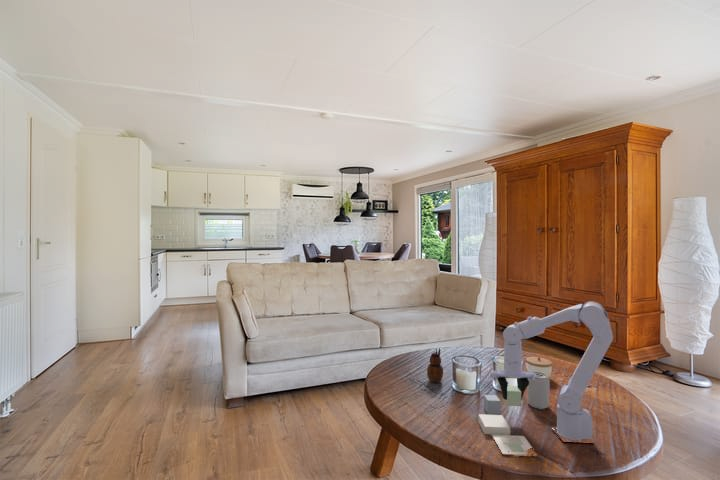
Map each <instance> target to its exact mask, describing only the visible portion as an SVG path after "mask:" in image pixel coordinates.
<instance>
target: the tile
mask: <svg viewBox="0 0 720 480" xmlns="http://www.w3.org/2000/svg"><path fill="white" fill-rule="evenodd" d="M491 437H492V439H493V441H494V440H495V441H494V443H495V442H496V443H495V444H497V445H498V447H499V448H498V447H497V448H498V450H499V449H500V450H501V452H502V454H513V455H526V454H527V452H528V451H527V450H528V449H530V448H533V446H532V445H531V444H530V442H529V441H528V439H527V438H526V437H525V436H524V435H511V434H510V435H491ZM497 445H496V446H497ZM500 450H499V451H500ZM508 451H509V452H508ZM526 451H527V452H526ZM501 452H500V453H501ZM502 454H501V455H502Z"/></svg>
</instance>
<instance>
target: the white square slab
mask: <svg viewBox="0 0 720 480" xmlns="http://www.w3.org/2000/svg"><path fill="white" fill-rule="evenodd" d="M477 420H478V421H477V422H478V424H479V426H480V429H481V430H482V432H483V434H484V435H485V434H490V435H489V436H492V435H511V427H510V424H508V422H507V421H506V418H504V415H502V414H500V415H499V414H487V413H486V414H484V413H483V414H482V413H479V414H478V416H477Z"/></svg>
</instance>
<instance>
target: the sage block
mask: <svg viewBox="0 0 720 480" xmlns="http://www.w3.org/2000/svg"><path fill="white" fill-rule="evenodd" d="M502 398H503V397H502ZM503 401H504V403H505V404H506V405H507V406H509V407H522V400H521V391H520V390H519V388H518V385H516V386H515V385H508V386H507V400H504V398H503Z"/></svg>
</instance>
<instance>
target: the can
mask: <svg viewBox="0 0 720 480" xmlns="http://www.w3.org/2000/svg"><path fill="white" fill-rule="evenodd" d="M533 373H534V374H535V380H532V379H528V381H529V385H528V386H527V388H526V389H527V391H526V392H527V394H526V395H527V399H526V401H527V403H528V404H529V406H530V407H532V408H534V409H537V408H538V409H537V410H545V408H546V409H547V408H549V407H550V391H551V389H550V385H551V384H550V382H551V381H550V379H549V377H548V376H547V375H546V374H544V373H541V372H533Z"/></svg>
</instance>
